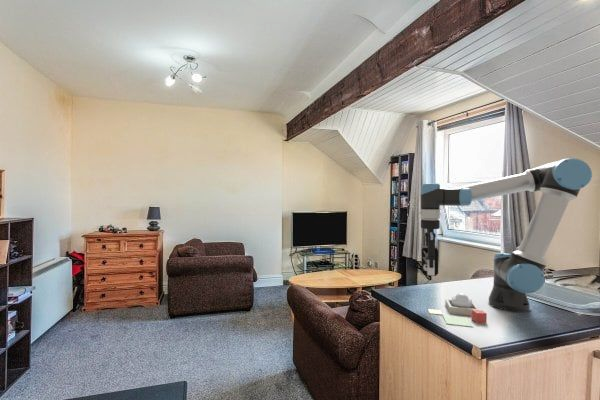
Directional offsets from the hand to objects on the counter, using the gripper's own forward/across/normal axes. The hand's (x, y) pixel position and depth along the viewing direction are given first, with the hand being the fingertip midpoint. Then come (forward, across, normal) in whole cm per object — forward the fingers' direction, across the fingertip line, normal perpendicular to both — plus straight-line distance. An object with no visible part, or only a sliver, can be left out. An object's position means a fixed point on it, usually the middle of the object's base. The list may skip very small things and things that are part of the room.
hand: (430, 273), depth 137 cm
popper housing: (+15, 0, +12) cm, 19 cm away
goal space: (+15, +14, +8) cm, 22 cm away
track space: (+14, +6, +1) cm, 16 cm away
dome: (+13, 0, +12) cm, 18 cm away
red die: (+15, +11, +16) cm, 25 cm away
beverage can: (+1, 0, 0) cm, 1 cm away
